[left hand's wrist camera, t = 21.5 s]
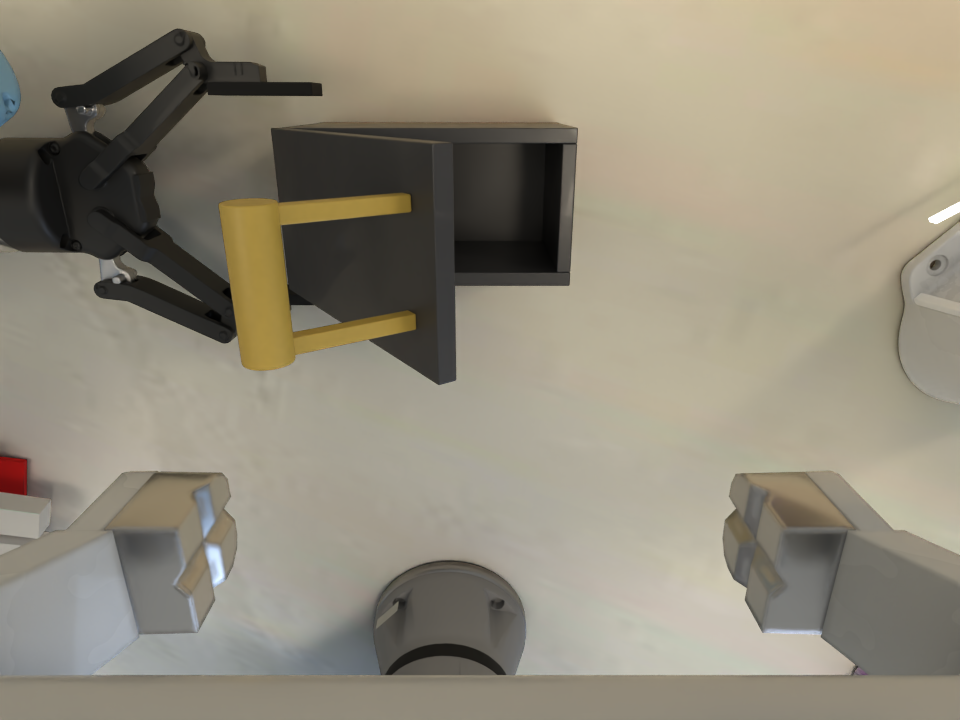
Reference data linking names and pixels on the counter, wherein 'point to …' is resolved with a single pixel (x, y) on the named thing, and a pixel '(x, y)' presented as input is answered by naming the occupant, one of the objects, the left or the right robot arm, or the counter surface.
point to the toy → (19, 507)
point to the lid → (348, 250)
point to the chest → (501, 196)
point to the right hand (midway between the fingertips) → (326, 198)
